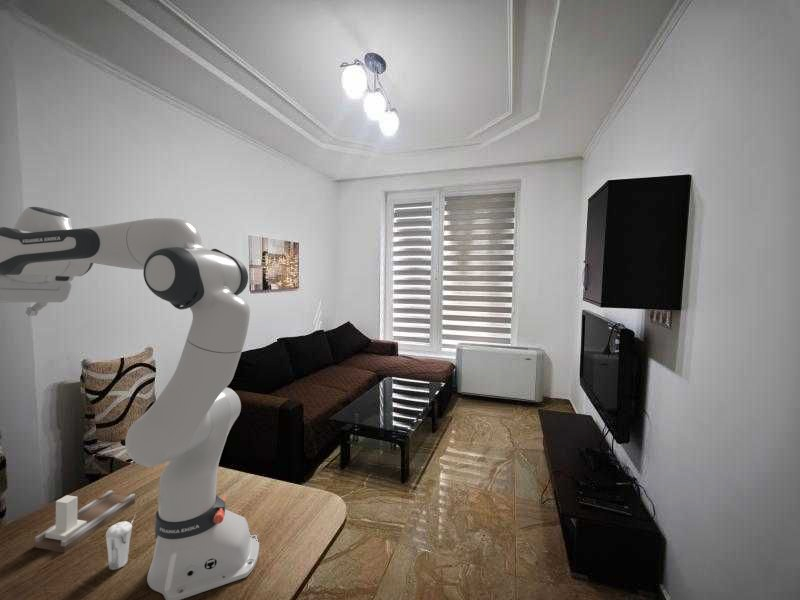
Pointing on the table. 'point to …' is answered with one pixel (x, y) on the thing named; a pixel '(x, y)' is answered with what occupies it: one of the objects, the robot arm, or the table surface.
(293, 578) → the table surface
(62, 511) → the fader tab
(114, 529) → the milkshake
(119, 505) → the fader track
